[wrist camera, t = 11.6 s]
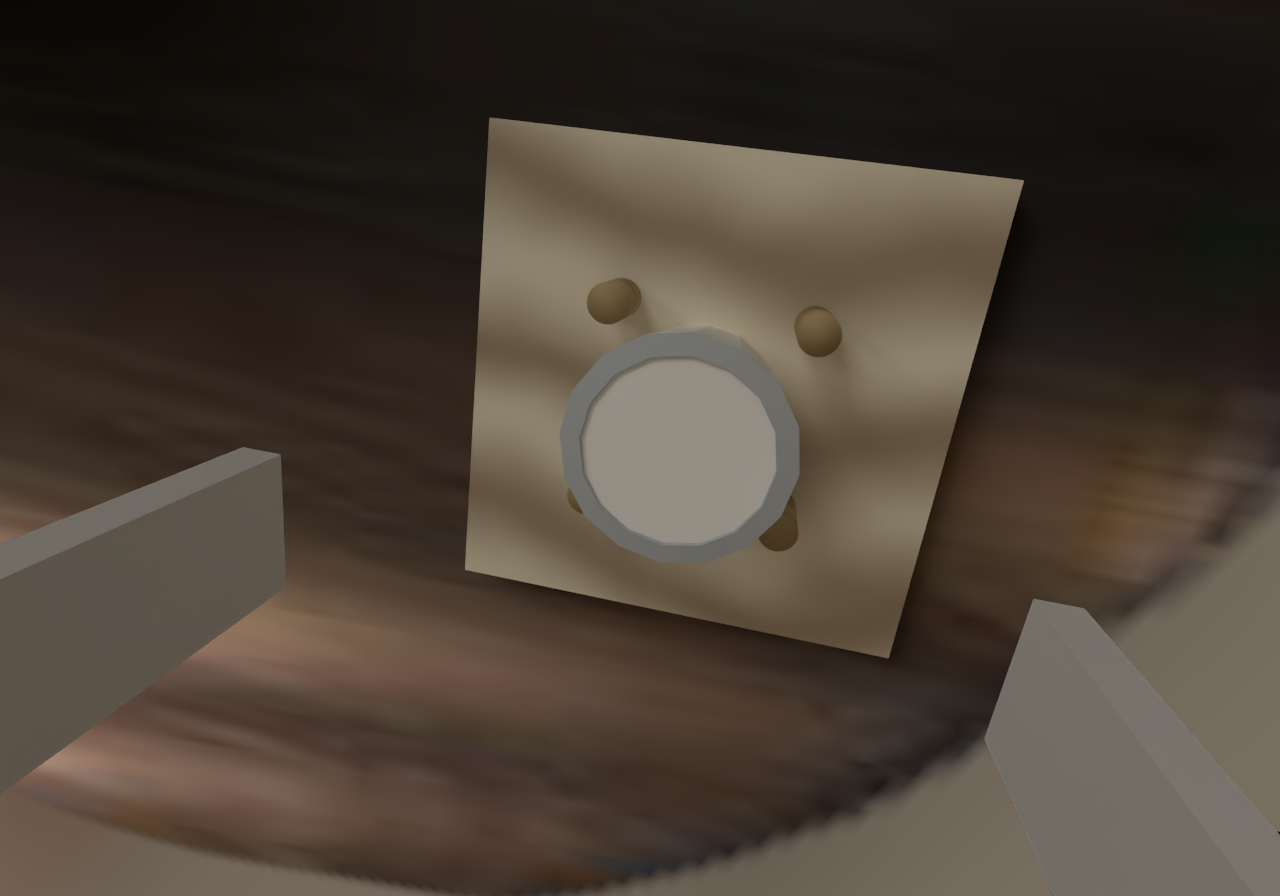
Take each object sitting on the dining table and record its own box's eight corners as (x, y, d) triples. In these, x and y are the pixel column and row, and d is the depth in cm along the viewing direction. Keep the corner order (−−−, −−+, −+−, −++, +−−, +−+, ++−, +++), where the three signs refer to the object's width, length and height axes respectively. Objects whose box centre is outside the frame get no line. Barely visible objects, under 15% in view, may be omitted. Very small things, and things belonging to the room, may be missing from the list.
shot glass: (667, 271, 25) (630, 282, 18) (830, 370, 25) (853, 417, 18) (580, 427, 27) (518, 487, 20) (729, 517, 27) (716, 607, 20)
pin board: (504, 124, 26) (459, 104, 22) (1008, 184, 23) (1055, 173, 19) (478, 554, 31) (438, 597, 27) (882, 637, 29) (900, 697, 25)
